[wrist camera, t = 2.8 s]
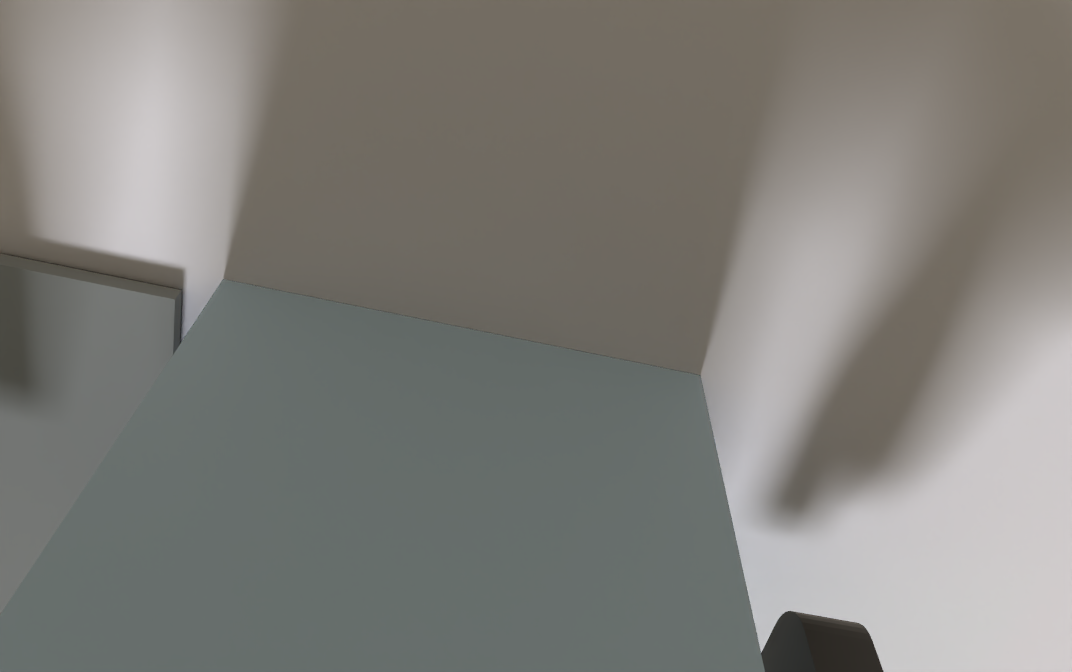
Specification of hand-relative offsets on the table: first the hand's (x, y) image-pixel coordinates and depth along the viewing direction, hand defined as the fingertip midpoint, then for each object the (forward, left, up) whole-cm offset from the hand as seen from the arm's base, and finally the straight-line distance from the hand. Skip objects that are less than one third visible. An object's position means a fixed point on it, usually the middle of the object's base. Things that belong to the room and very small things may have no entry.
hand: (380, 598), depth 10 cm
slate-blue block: (0, 0, -2) cm, 2 cm away
